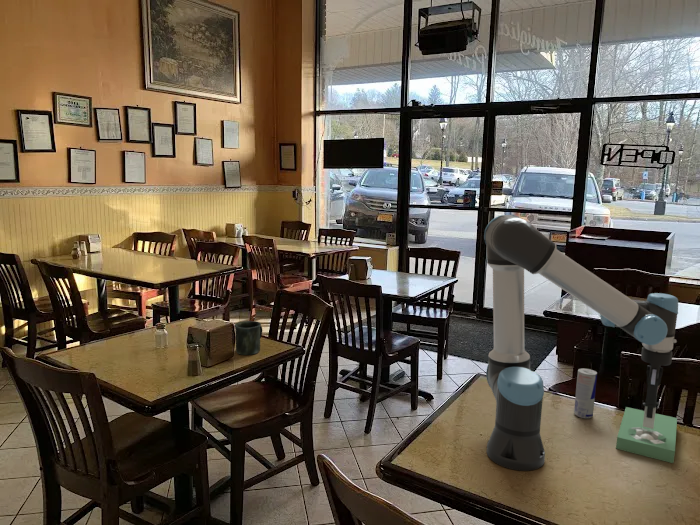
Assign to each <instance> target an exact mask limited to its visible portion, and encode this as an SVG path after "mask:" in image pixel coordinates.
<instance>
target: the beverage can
mask: <svg viewBox="0 0 700 525" xmlns="http://www.w3.org/2000/svg"><path fill="white" fill-rule="evenodd" d="M597 380H598V372H597V371H596V370H593V369H590V368H578V370H577V377H576V388H575V396H574V397H575V399H574V409H573V410H574V411H573V414H575V415H576V417H579V418H581V419H591V418H593V417H594V407H595V399H596V398H595V397H596V389H597V388H596V387H597Z"/></svg>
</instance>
